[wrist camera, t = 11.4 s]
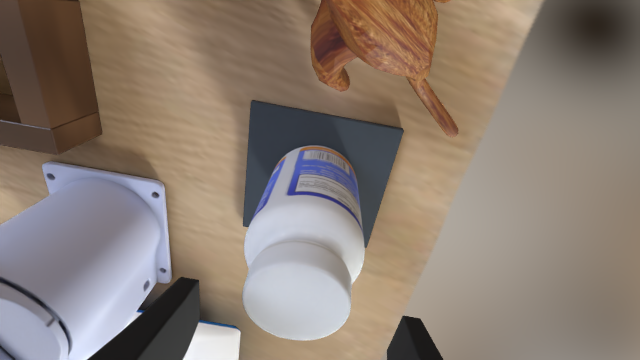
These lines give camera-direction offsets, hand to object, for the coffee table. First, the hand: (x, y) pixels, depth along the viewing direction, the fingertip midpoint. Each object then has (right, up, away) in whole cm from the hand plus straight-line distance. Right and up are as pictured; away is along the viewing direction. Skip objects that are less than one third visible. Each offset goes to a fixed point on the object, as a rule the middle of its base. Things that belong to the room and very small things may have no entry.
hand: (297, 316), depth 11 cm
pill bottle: (0, +5, +9) cm, 10 cm away
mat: (0, +5, +9) cm, 10 cm away
